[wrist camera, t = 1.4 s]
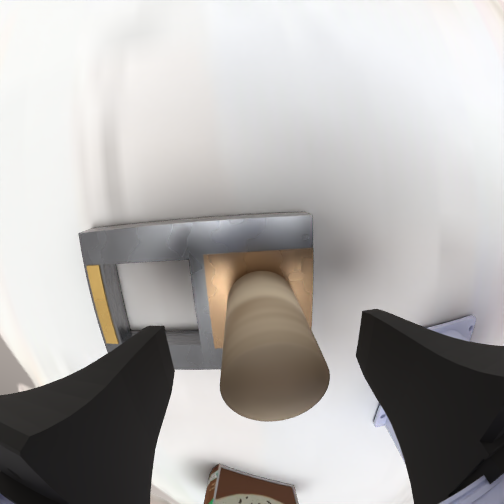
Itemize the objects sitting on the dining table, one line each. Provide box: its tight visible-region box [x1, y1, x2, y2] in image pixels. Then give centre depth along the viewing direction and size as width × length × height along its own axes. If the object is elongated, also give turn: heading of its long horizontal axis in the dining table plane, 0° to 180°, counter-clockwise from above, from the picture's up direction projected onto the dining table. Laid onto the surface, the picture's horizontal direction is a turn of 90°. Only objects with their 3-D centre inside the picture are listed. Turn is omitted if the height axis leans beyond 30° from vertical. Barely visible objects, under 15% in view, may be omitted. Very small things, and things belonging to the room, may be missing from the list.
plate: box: [79, 212, 313, 370], centre depth 14 cm, size 8×12×2 cm
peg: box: [220, 271, 330, 421], centre depth 10 cm, size 3×3×6 cm
